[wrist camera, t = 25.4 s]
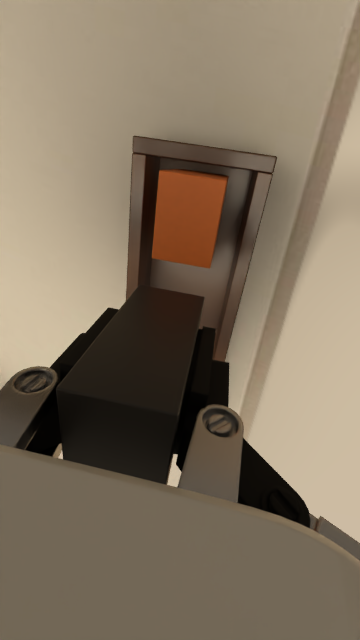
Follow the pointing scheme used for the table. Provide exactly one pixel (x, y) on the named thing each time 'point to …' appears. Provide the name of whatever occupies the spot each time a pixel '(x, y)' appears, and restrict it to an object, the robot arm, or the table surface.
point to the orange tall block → (188, 216)
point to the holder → (233, 234)
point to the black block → (132, 386)
